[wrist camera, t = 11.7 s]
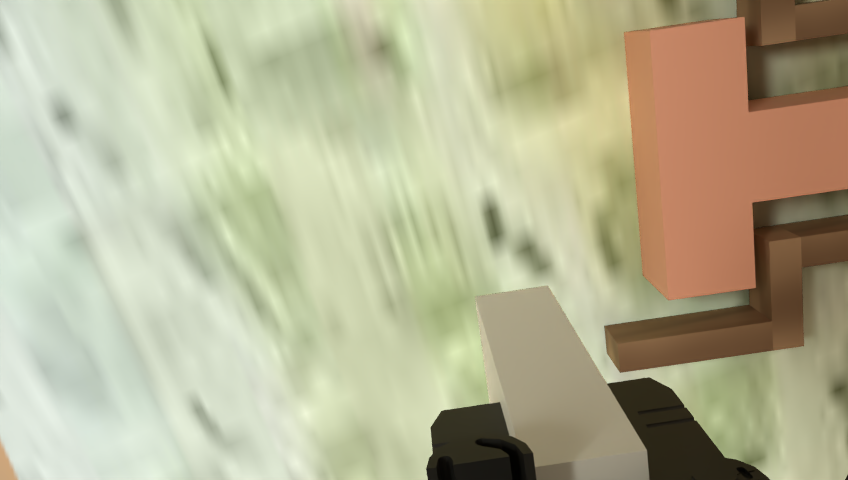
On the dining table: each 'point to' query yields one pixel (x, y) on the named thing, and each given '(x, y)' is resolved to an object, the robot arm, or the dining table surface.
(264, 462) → the dining table surface
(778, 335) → the corral
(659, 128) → the t block
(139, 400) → the dining table surface
